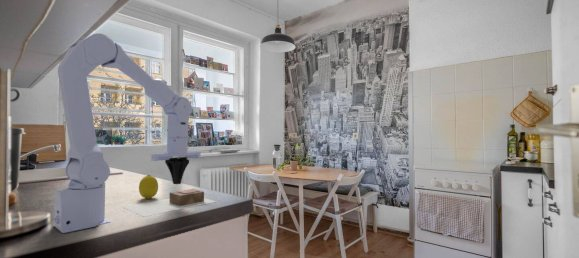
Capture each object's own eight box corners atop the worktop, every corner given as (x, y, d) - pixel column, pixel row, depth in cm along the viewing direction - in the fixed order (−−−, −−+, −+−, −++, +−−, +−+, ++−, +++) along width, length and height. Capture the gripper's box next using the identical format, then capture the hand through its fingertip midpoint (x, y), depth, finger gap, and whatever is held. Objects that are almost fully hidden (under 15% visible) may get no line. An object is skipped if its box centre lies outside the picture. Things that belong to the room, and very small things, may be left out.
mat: (143, 218, 75) (143, 216, 75) (121, 208, 84) (121, 206, 84) (216, 203, 92) (216, 201, 92) (191, 196, 101) (191, 194, 101)
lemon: (149, 202, 91) (149, 176, 91) (134, 201, 93) (135, 175, 93) (161, 198, 97) (162, 173, 97) (147, 197, 98) (148, 172, 98)
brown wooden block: (180, 194, 86) (204, 190, 92) (169, 191, 90) (193, 188, 96) (179, 206, 86) (203, 201, 92) (169, 202, 90) (193, 198, 96)
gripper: (192, 137, 97) (191, 179, 97) (146, 137, 86) (145, 185, 86) (204, 137, 92) (203, 181, 92) (158, 138, 81) (157, 188, 81)
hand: (176, 183), depth 89 cm, fingers closed
